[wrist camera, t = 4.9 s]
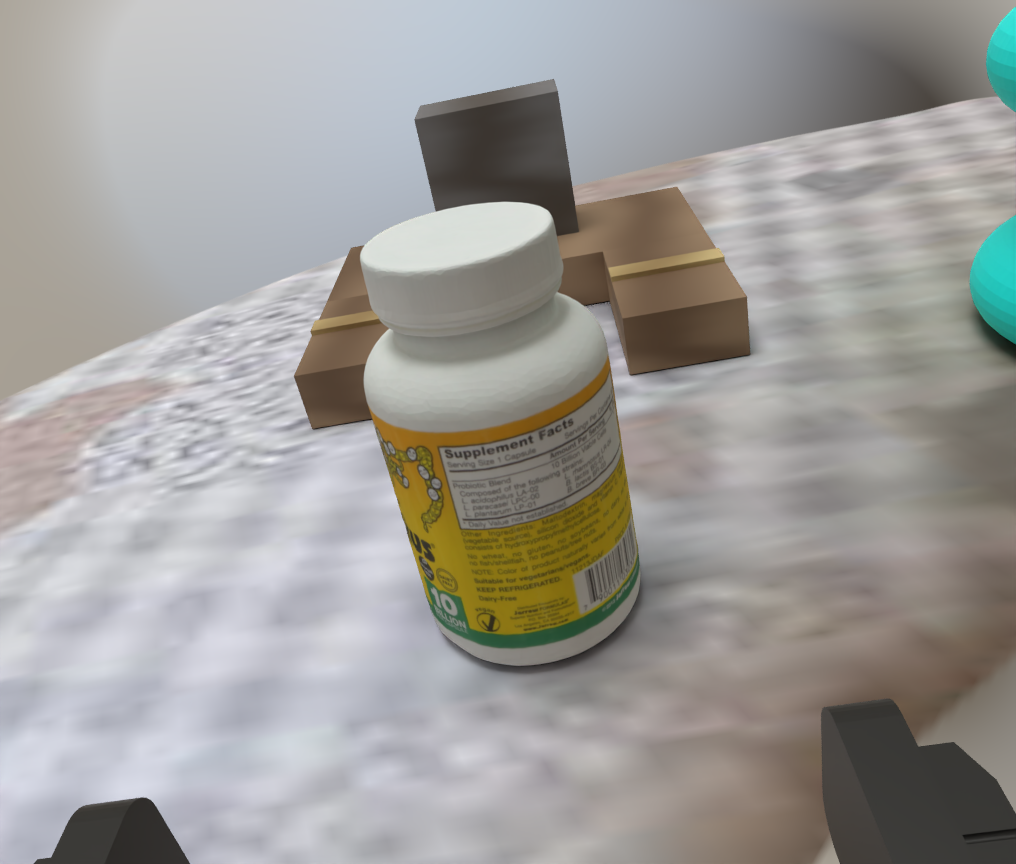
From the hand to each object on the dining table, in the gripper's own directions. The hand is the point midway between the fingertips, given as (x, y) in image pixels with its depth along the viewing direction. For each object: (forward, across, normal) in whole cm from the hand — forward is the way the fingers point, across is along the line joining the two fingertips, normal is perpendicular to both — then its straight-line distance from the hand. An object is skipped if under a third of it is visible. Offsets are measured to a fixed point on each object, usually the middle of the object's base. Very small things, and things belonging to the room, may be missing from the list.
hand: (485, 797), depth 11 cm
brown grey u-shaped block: (+28, 0, +6) cm, 29 cm away
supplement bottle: (+10, 0, +6) cm, 12 cm away
